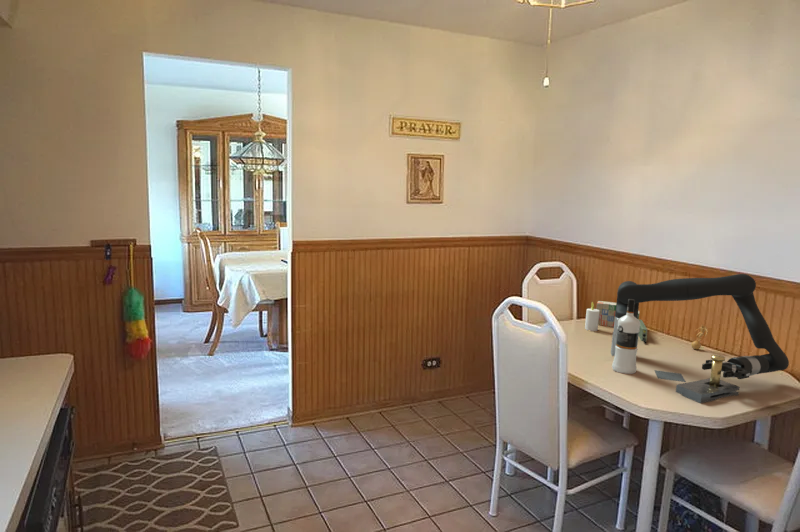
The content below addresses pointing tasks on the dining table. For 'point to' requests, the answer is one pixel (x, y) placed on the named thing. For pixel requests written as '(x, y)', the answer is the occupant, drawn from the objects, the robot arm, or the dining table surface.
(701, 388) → the slotted grey base plate
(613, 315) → the stack of blocks
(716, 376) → the brass pin
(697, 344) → the figurine
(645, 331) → the handheld radio
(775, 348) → the robot arm
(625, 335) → the vodka
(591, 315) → the candle
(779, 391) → the dining table surface
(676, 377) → the rubber mat
